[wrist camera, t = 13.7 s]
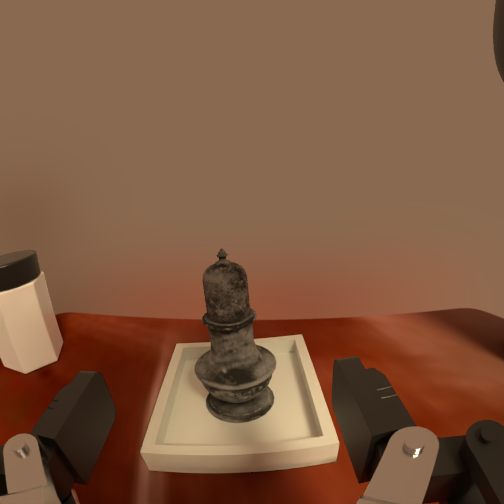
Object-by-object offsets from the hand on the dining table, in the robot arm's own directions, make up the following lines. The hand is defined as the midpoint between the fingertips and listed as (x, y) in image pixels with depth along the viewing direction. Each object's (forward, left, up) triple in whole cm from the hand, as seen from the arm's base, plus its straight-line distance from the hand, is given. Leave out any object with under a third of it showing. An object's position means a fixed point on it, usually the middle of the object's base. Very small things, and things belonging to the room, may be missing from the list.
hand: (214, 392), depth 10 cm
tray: (0, -11, -10) cm, 15 cm away
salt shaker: (0, -11, -10) cm, 15 cm away
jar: (+25, -18, -11) cm, 33 cm away
